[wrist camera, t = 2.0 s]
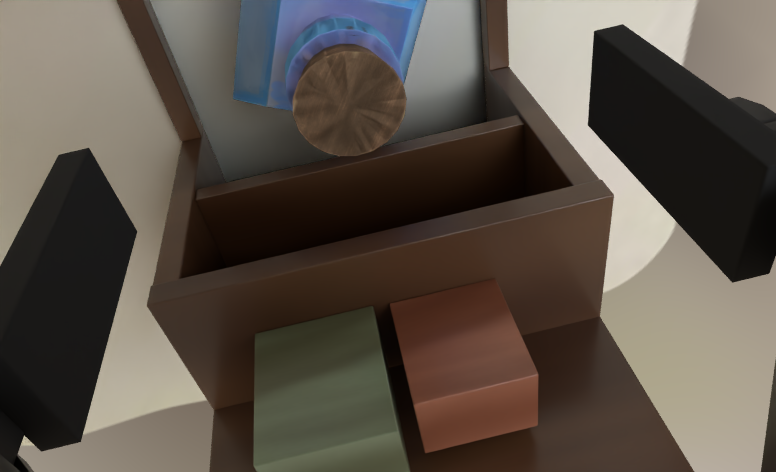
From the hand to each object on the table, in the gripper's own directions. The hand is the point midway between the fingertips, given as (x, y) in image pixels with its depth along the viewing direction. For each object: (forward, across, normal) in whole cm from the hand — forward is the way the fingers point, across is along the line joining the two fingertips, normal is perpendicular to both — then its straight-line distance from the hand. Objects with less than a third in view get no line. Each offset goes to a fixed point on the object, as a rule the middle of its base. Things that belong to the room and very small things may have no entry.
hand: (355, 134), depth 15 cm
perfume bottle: (+13, 0, 0) cm, 13 cm away
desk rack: (+13, 0, -3) cm, 13 cm away
